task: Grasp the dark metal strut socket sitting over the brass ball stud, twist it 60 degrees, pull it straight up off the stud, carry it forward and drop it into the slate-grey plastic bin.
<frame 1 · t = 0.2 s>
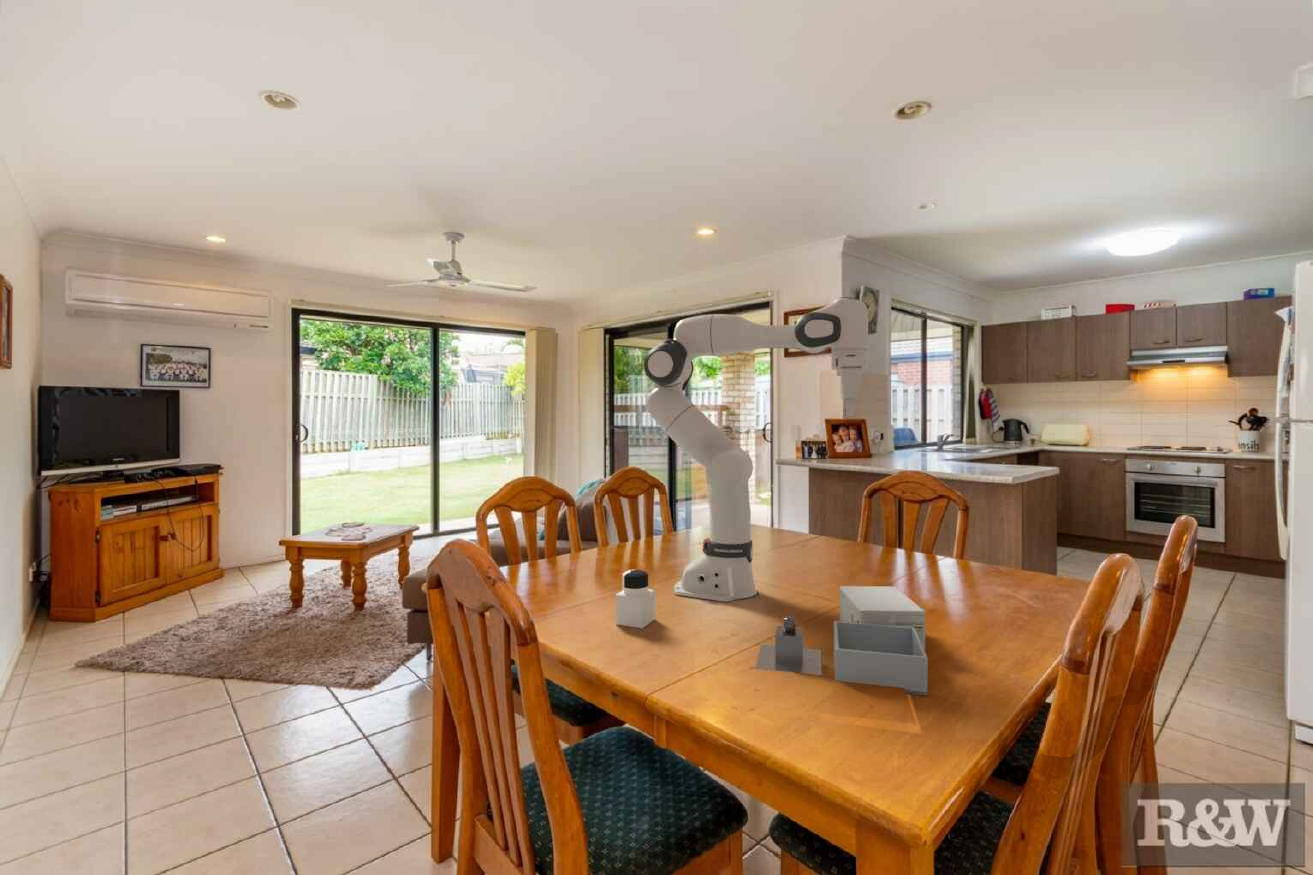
hand: (849, 416, 154), 48 cm above the table, fingers open, 8 cm apart
medicine bottle: (635, 623, 141), on the table
supplement box: (879, 640, 130), on the table
strut socket: (789, 658, 117), point 1 cm above the table, touching stud base
stud base: (789, 663, 117), on the table
bin: (876, 672, 113), on the table
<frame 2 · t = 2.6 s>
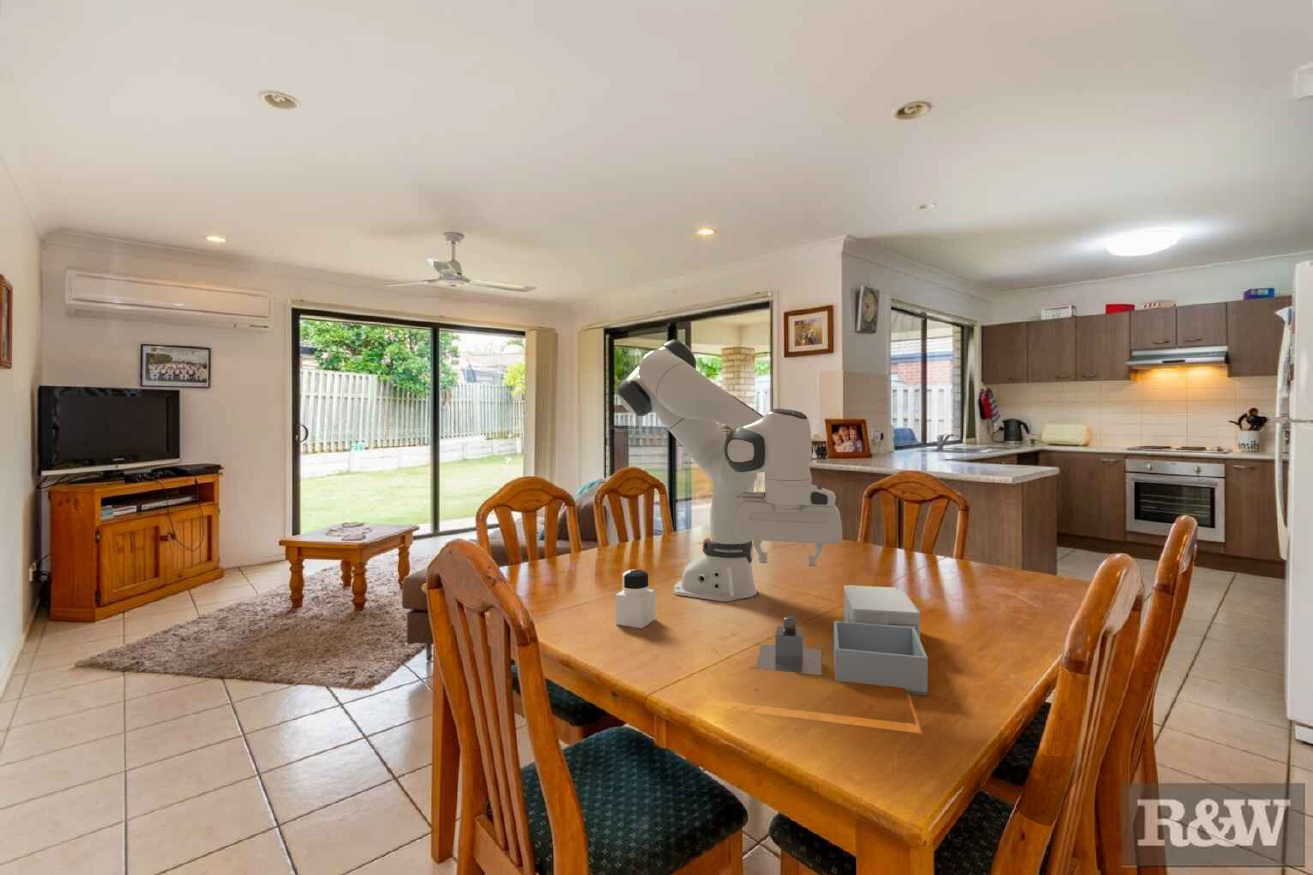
hand: (787, 564, 117), 20 cm above the table, fingers open, 8 cm apart
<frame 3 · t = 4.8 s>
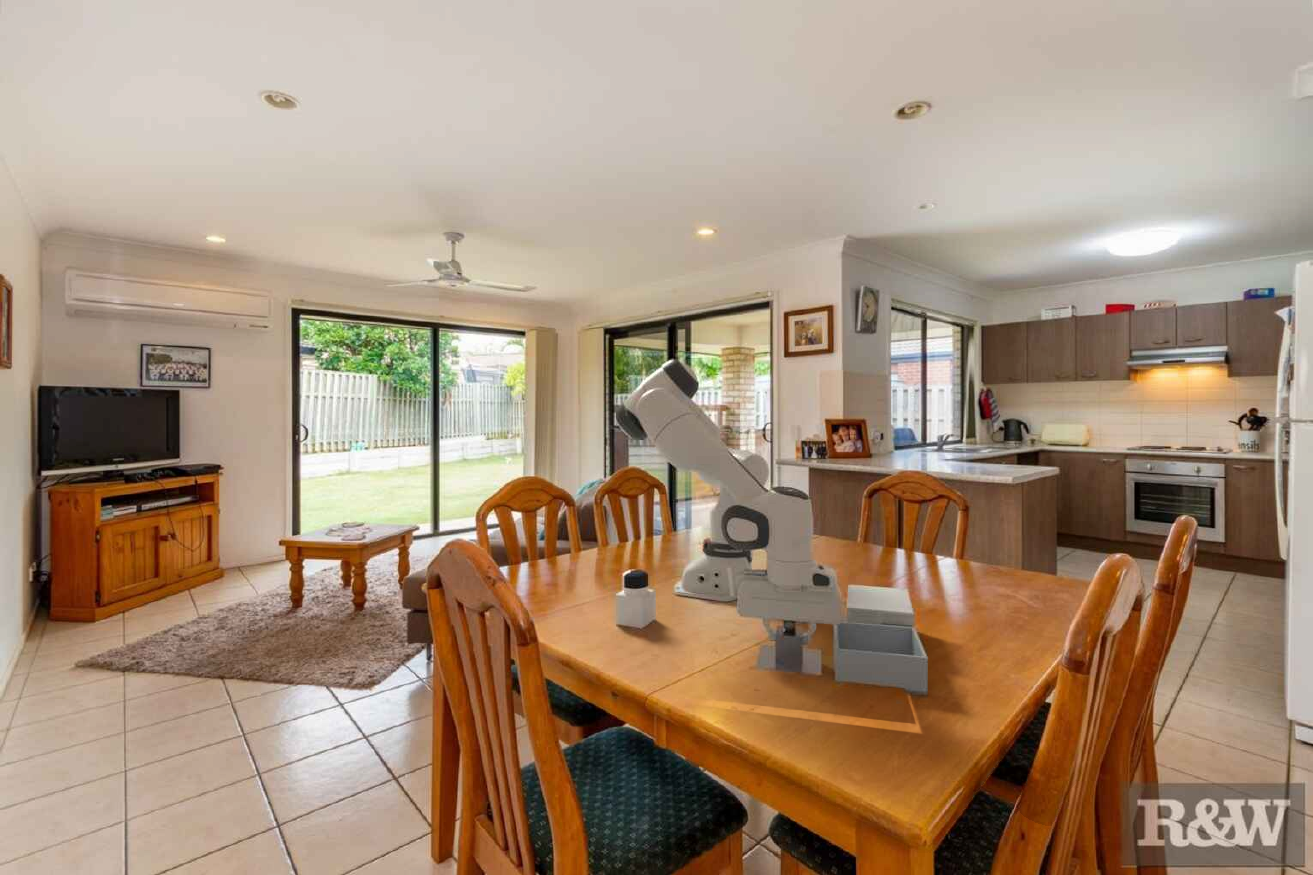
hand: (789, 641, 117), 4 cm above the table, fingers closed on strut socket, 5 cm apart
strut socket: (789, 658, 117), point 1 cm above the table, touching gripper, stud base
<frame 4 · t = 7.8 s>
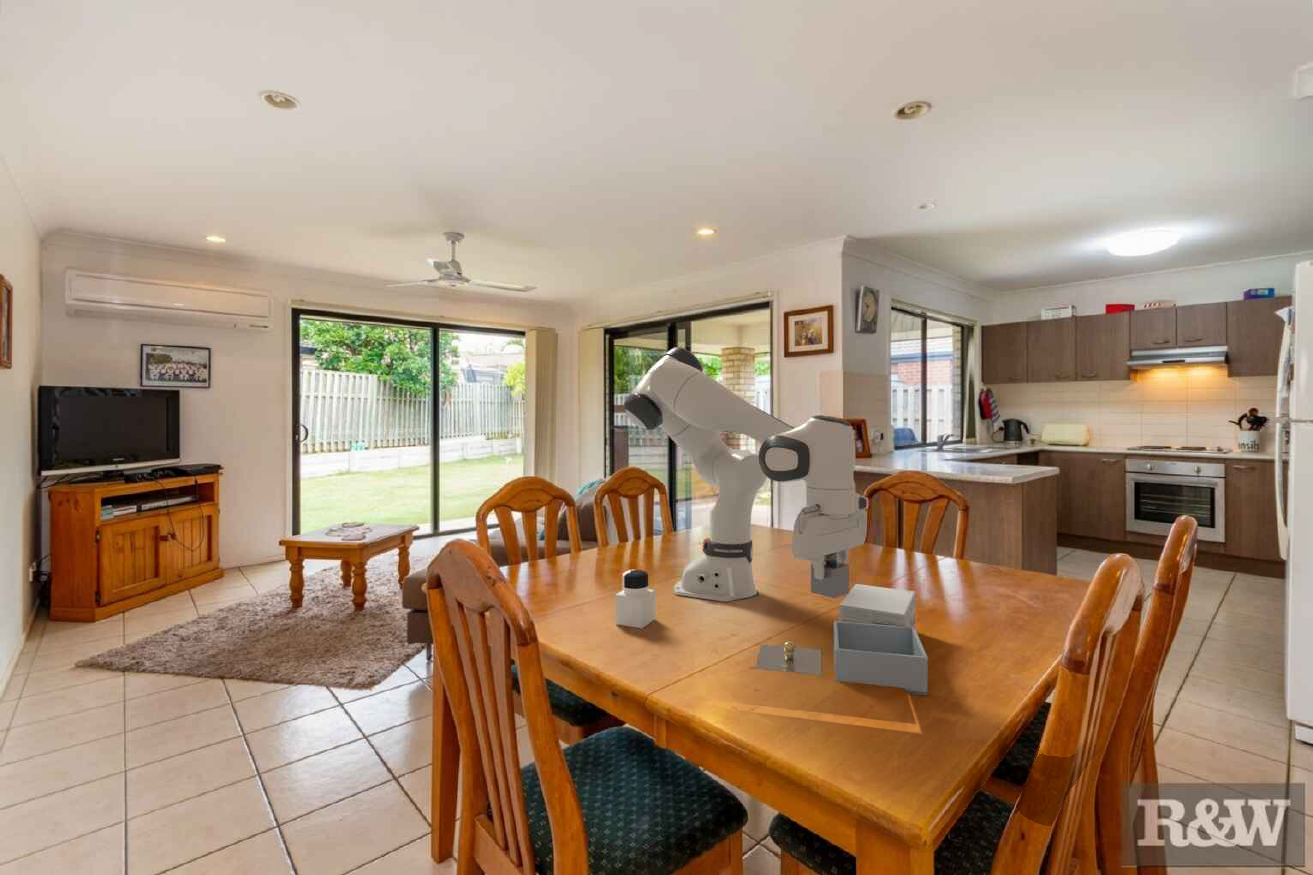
hand: (830, 575, 114), 18 cm above the table, fingers closed on strut socket, 5 cm apart
strut socket: (829, 592, 114), point 15 cm above the table, touching gripper
when the fingers open (6 cm above the table, at t = 11.0 s): strut socket drops 2 cm, resting on bin.
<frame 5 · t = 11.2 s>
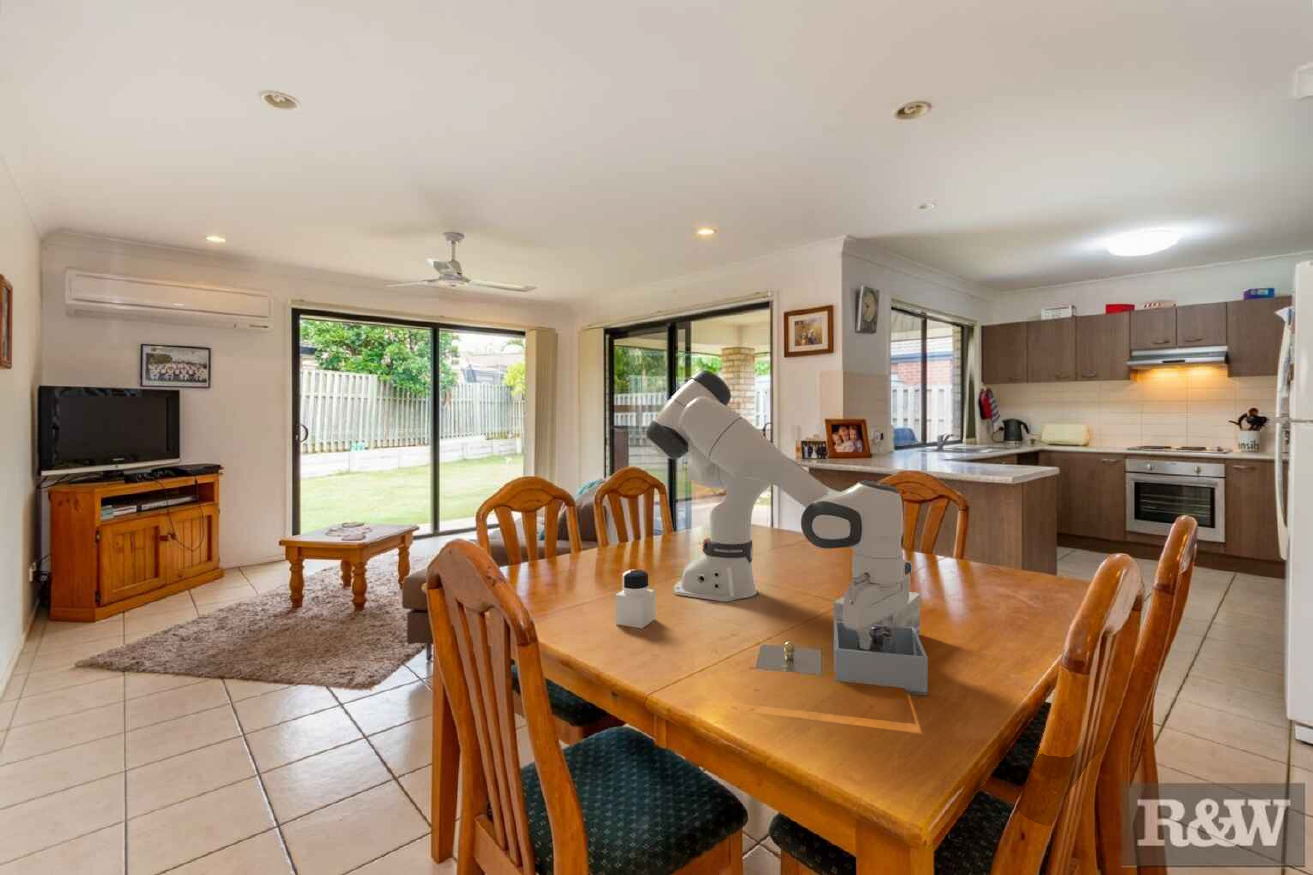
hand: (876, 641, 113), 6 cm above the table, fingers open, 7 cm apart
strut socket: (876, 669, 113), point 1 cm above the table, touching bin
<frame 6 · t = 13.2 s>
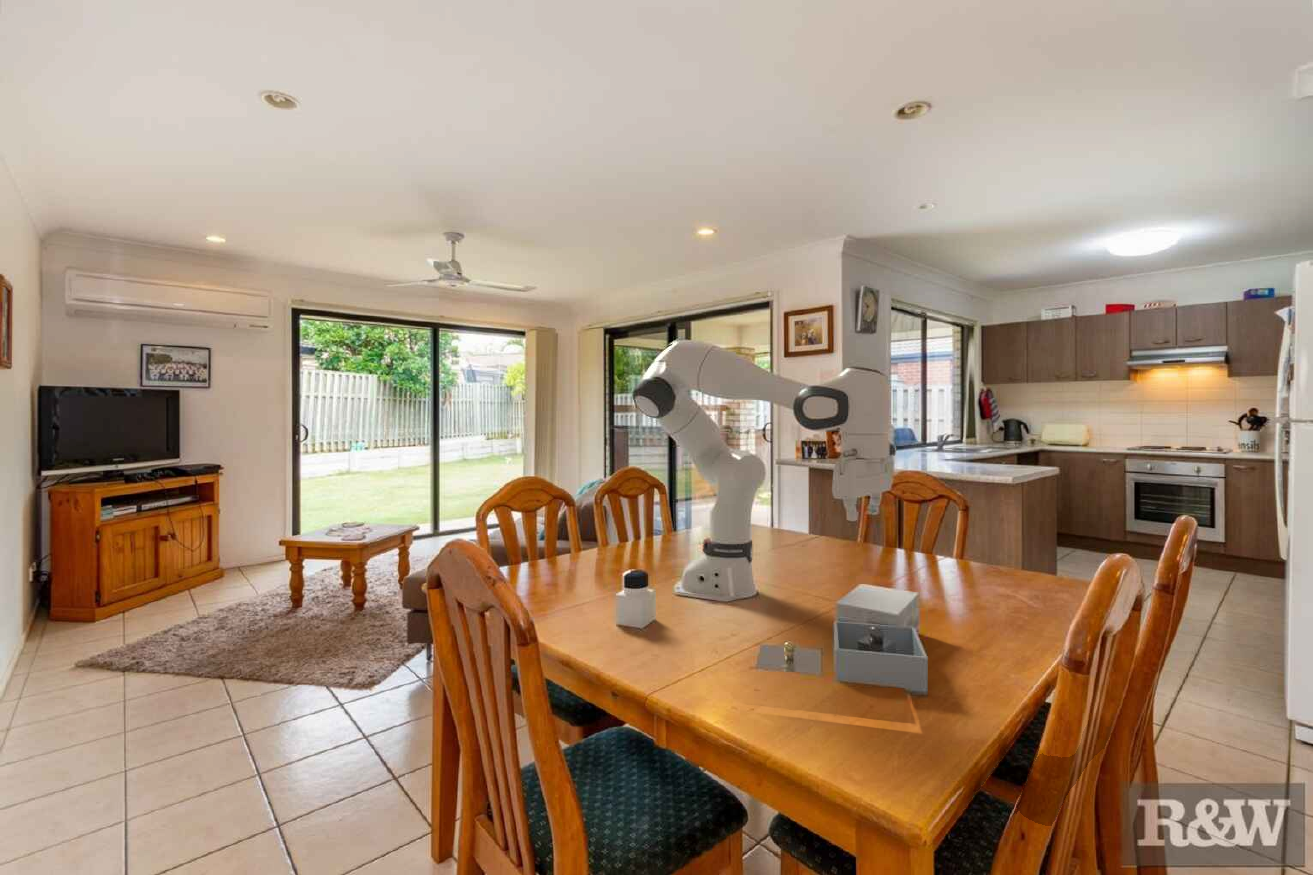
hand: (862, 517, 121), 28 cm above the table, fingers open, 8 cm apart
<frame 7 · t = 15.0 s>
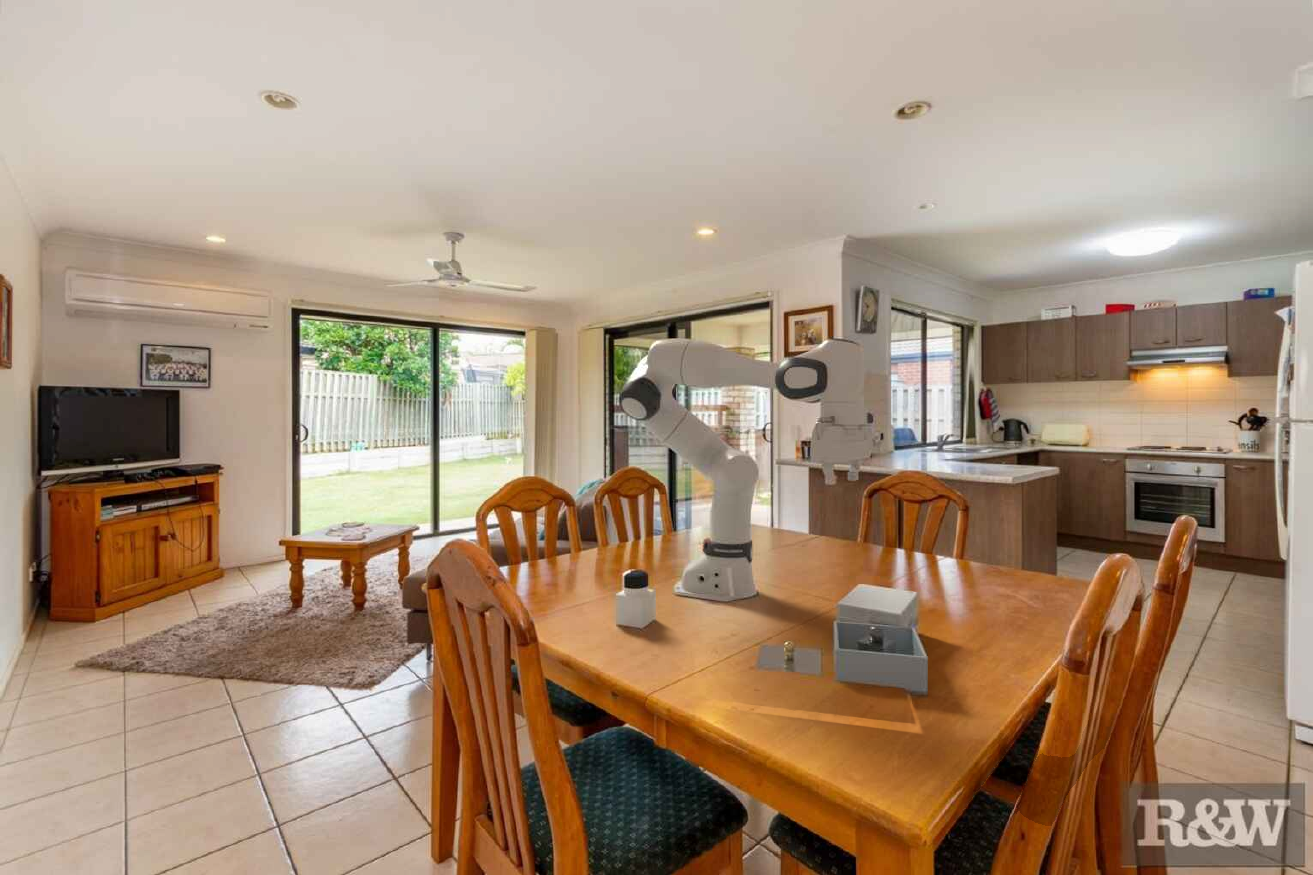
hand: (842, 482, 127), 34 cm above the table, fingers open, 8 cm apart
at the end: strut socket inside the target area on the bin (0.1 cm from its centre), point 0.6 cm above the bin's base; the gripper is holding nothing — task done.
